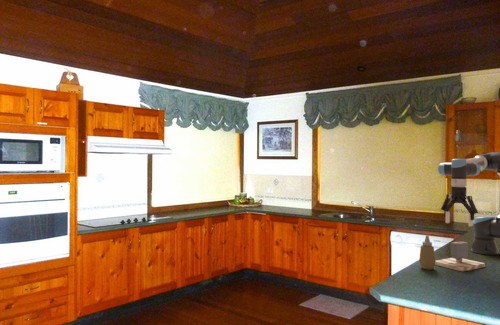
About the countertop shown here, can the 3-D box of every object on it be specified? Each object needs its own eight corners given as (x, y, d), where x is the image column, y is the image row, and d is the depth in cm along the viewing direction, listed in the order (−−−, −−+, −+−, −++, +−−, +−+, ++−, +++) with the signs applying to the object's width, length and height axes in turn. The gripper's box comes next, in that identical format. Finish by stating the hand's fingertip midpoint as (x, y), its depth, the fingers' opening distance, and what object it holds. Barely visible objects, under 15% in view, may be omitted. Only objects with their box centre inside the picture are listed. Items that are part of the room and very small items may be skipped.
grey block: (461, 255, 225) (461, 240, 225) (467, 256, 222) (467, 241, 222) (450, 257, 220) (450, 242, 220) (456, 258, 217) (456, 243, 217)
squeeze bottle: (426, 270, 210) (426, 236, 210) (415, 267, 217) (415, 234, 217) (438, 269, 212) (438, 236, 212) (428, 266, 219) (428, 233, 220)
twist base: (456, 260, 233) (456, 252, 233) (484, 266, 218) (484, 258, 218) (433, 264, 223) (433, 256, 223) (462, 271, 208) (462, 262, 208)
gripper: (434, 185, 230) (434, 222, 230) (476, 187, 208) (476, 227, 208) (442, 185, 234) (442, 221, 234) (485, 187, 212) (485, 227, 212)
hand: (458, 224), depth 221 cm, fingers open, 13 cm apart
